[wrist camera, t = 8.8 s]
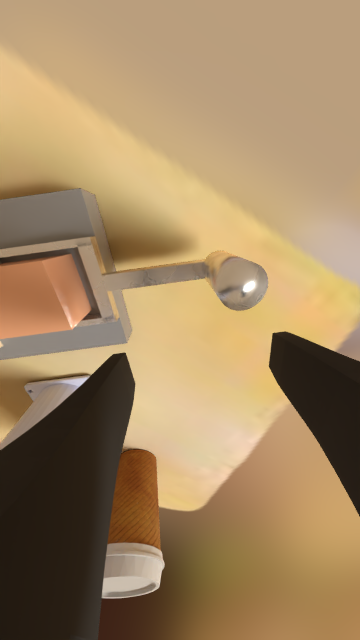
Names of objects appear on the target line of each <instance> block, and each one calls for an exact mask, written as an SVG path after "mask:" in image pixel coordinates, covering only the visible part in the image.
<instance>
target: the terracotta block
mask: <svg viewBox="0 0 360 640" xmlns="http://www.w3.org/2000/svg"><path fill="white" fill-rule="evenodd" d="M91 310H92V308H91V306H90V303H89V300H88V298H87V295H86V292H85V289H84V287H83V284H82V281H81V279H80V276H79V273H78V270H77V268H76V265H75V262H74V260H73V257H72V254H65V255H58V256H51V257H43V258H36V259H29V260H22V261H15V262H7V263H2V264H0V339H6V338H13V337H21V336H28V335H35V334H43V333H50V332H58V331H65V330H72V329H73V328H74V327H75V326H76V325H77V324H78V323H79V322H80V321H81V320H82V319H83V318H84V317H85V316H86V315H87V314H88V313H89V312H90V311H91Z"/></svg>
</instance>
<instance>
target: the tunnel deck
mask: <svg viewBox="0 0 360 640" xmlns="http://www.w3.org/2000/svg"><path fill="white" fill-rule="evenodd" d="M94 236H95V237H96V240H97V244H98V247H99V250H100V254H101V257H102V260H103V264H104V267H105V270H106V273H108V272H115V271H116V269H115V266H114V262H113V259H112V255H111V251H110V248H109V244H108V241H107V237H106V233H105V230H104V226H103V222H102V219H101V215H100V212H99V208H98V204H97V201H96V197H95V195H94V194H92V193H90V192H88V191H85V190H83V189H81V188H79V189H72V190H65V191H58V192H51V193H44V194H37V195H30V196H23V197H16V198H9V199H2V200H0V249H6V248H13V247H21V246H28V245H35V244H42V243H49V242H56V241H64V240H71V239H78V238H85V237H94ZM65 254H72V257H73V260H74V262H75V265H76V268H77V270H78V273H79V276H80V279H81V281H82V284H83V287H84V289H85V292H86V295H87V298H88V300H89V303H90V306H91V308H92V310H91V311H90V312H89V313H88V314H87V315H94V314H101V313H100V310H99V307H98V304H97V302H96V299H95V296H94V293H93V290H92V287H91V284H90V281H89V279H88V276H87V273H86V270H85V267H84V264H83V261H82V258H81V256H80V253H79V250H78V247H74V248H67V249H60V250H53V251H46V252H38V253H31V254H24V255H17V256H10V257H2V258H0V260H1V262H2V263H7V262H15V261H22V260H29V259H36V258H43V257H51V256H58V255H65ZM112 294H113V297H114V300H115V303H116V307H117V310H118V313H119V318H118V320H117V322H111V323H104V324H96V325H89V326H82V327H74V328H73V329H72V330H65V331H58V332H50V333H43V334H35V335H28V336H21V337H13V338H6V339H0V360H4V359H11V358H19V357H26V356H34V355H41V354H49V353H56V352H64V351H72V350H79V349H87V348H94V347H102V346H109V345H117V344H124V343H128V340H129V337H130V335H131V332H132V327H131V324H130V320H129V316H128V313H127V309H126V306H125V302H124V298H123V295H122V291H121V290H115V291H112Z"/></svg>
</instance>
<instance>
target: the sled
mask: <svg viewBox="0 0 360 640" xmlns="http://www.w3.org/2000/svg"><path fill="white" fill-rule="evenodd" d="M74 247H78V250H79V253H80V256H81V258H82V261H83V264H84V267H85V270H86V273H87V276H88V279H89V281H90V284H91V287H92V290H93V293H94V296H95V299H96V302H97V304H98V307H99V310H100V313H101V314H94V315H86V316H85V317H84V318H83V319H82V320H81V321H80V322H79V323H78V324H77V325H76V326H75V327H82V326H89V325H96V324H104V323H111V322H117V320H118V318H119V313H118V310H117V307H116V303H115V300H114V297H113V294H112V291H115V290H122V289H130V288H137V287H145V286H152V285H159V284H167V283H174V282H181V281H189V280H196V279H203V278H205V279H206V281H207V282H208V283H209V285H210V286H211V287H212V289H213V290H214V292H215V293H216V294H217V296H218V297H219V299H220V300H221V301H222V303H223V304H224V305H225V306H226V307H228V308H230V309H232V310H238V311H241V310H246V309H249V308H252V307H253V306H255V305H256V304H258V303H259V302H260V301H261V300H262V298H263V297H264V295H265V293H266V291H267V288H268V277H267V274H266V272H265V270H264V269H263V268H262V267H261V266H260V265H258V264H256V263H253V262H251V261H248V260H246V259H243V258H241V257H238V256H236V255H233V254H230V253H228V252H225V251H215V252H213V253H211V254H209V255H208V256H207V257H206V259H202V260H195V261H188V262H181V263H173V264H166V265H159V266H151V267H144V268H137V269H129V270H122V271H115V272H108V273H106V270H105V267H104V264H103V260H102V257H101V254H100V250H99V247H98V244H97V240H96V237H95V236H94V237H85V238H78V239H71V240H64V241H56V242H49V243H42V244H35V245H28V246H21V247H13V248H6V249H0V258H2V257H10V256H17V255H24V254H31V253H38V252H46V251H53V250H60V249H67V248H74ZM0 264H2V262H1V260H0Z"/></svg>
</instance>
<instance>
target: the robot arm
mask: <svg viewBox="0 0 360 640" xmlns="http://www.w3.org/2000/svg"><path fill="white" fill-rule="evenodd" d="M269 367H270V369H271V371H272V373H273V375H274V377H275V379H276V381H277V383H278V385H279V386H280V388H281V389H282V390H283V392H284V393H285V395H286V396H287V398H288V399H289V401H290V402H291V403H292V405H293V406H294V408H295V409H296V410H297V411H298V413H299V415H300V416H301V417H302V419H303V420H304V421H305V423H306V424H307V426H308V427H309V429H310V430H311V432H312V433H313V435H314V436H315V438H316V439H317V441H318V442H319V444H320V446H321V447H322V449H323V451H324V453H325V454H326V456H327V458H328V460H329V461H330V463H331V465H332V466H333V468H334V470H335V472H336V473H337V475H338V477H339V478H340V481H341V483H342V484H343V486H344V488H345V490H346V492H347V493H348V495H349V497H350V499H351V501H352V502H353V504H354V506H355V508H356V510H357V512H358V514H359V516H360V362H359V361H357V360H354V359H352V358H349V357H347V356H344V355H342V354H339V353H337V352H334V351H332V350H330V349H327V348H325V347H323V346H320V345H318V344H315V343H313V342H311V341H308V340H306V339H304V338H301V337H299V336H296V335H294V334H291V333H288V332H278V333H273V336H272V344H271V353H270V361H269ZM24 388H25V390H26V392H27V393H28V394H29V396H30V397H31V399H32V400H33V403H32V404H31V405H30V407H29V408H28V409H27V410H26V412H25V413H24V414H23V415H22V417H21V418H20V419H19V420H18V422H17V423H16V424H15V425H14V427H13V428H12V429H11V430H10V432H9V433H8V434H7V435H6V437H5V438H4V439H3V441H2V442H1V443H0V640H98V630H99V619H100V609H101V599H102V589H103V579H104V569H105V561H106V552H107V544H108V535H109V527H110V520H111V513H112V505H113V498H114V491H115V485H116V478H117V472H118V466H119V461H120V456H121V452H122V447H123V443H124V439H125V435H126V431H127V427H128V423H129V419H130V415H131V410H132V406H133V400H134V392H135V381H134V378H133V375H132V372H131V368H130V365H129V362H128V359H127V356H126V353H119V354H113V355H112V356H111V357H110V358H108V359H107V360H106V361H105V362H104V363H103V364H102V365H101V366H100V367H99V368H98V369H97V370H96V371H95V372H94V373H93V374H92V375H91V376H90V375H86V376H78V377H70V378H63V379H55V380H47V381H40V382H32V383H27V384H26V385H25V386H24Z"/></svg>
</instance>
